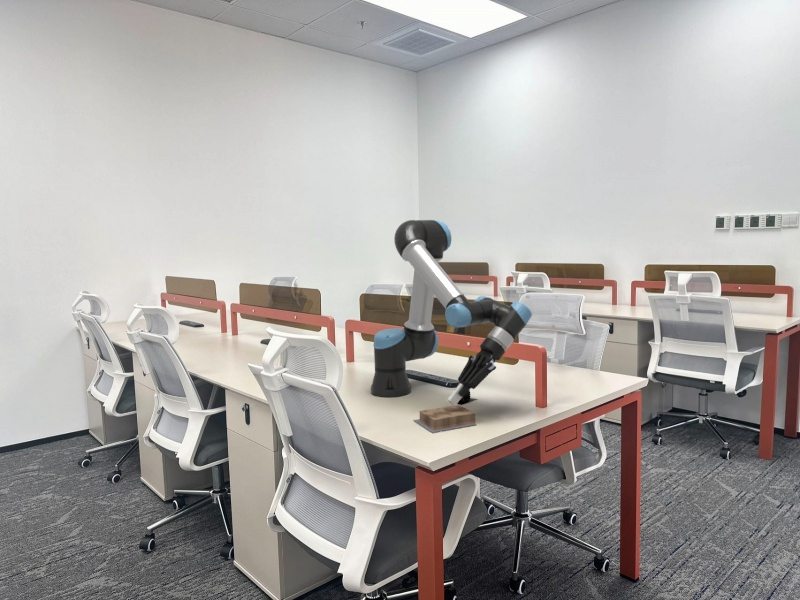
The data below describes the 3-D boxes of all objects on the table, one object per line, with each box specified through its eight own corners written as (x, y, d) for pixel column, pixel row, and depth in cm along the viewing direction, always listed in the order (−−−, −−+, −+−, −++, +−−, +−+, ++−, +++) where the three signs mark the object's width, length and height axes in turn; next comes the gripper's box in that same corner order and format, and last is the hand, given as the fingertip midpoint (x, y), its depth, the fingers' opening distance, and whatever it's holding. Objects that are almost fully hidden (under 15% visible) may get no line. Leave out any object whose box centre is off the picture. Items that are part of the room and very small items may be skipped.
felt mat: (413, 421, 174) (413, 420, 174) (455, 413, 180) (455, 412, 180) (432, 433, 162) (432, 432, 162) (476, 425, 168) (476, 424, 168)
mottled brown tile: (458, 413, 179) (419, 420, 173) (458, 404, 179) (419, 411, 173) (475, 422, 170) (434, 429, 164) (475, 413, 170) (434, 420, 164)
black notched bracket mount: (466, 396, 202) (466, 384, 202) (483, 400, 197) (482, 387, 196) (444, 404, 193) (444, 391, 193) (461, 408, 188) (460, 395, 188)
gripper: (515, 354, 172) (469, 415, 167) (492, 348, 184) (448, 404, 179) (500, 339, 170) (453, 400, 164) (478, 333, 181) (433, 390, 176)
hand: (451, 402), depth 172 cm, fingers closed
